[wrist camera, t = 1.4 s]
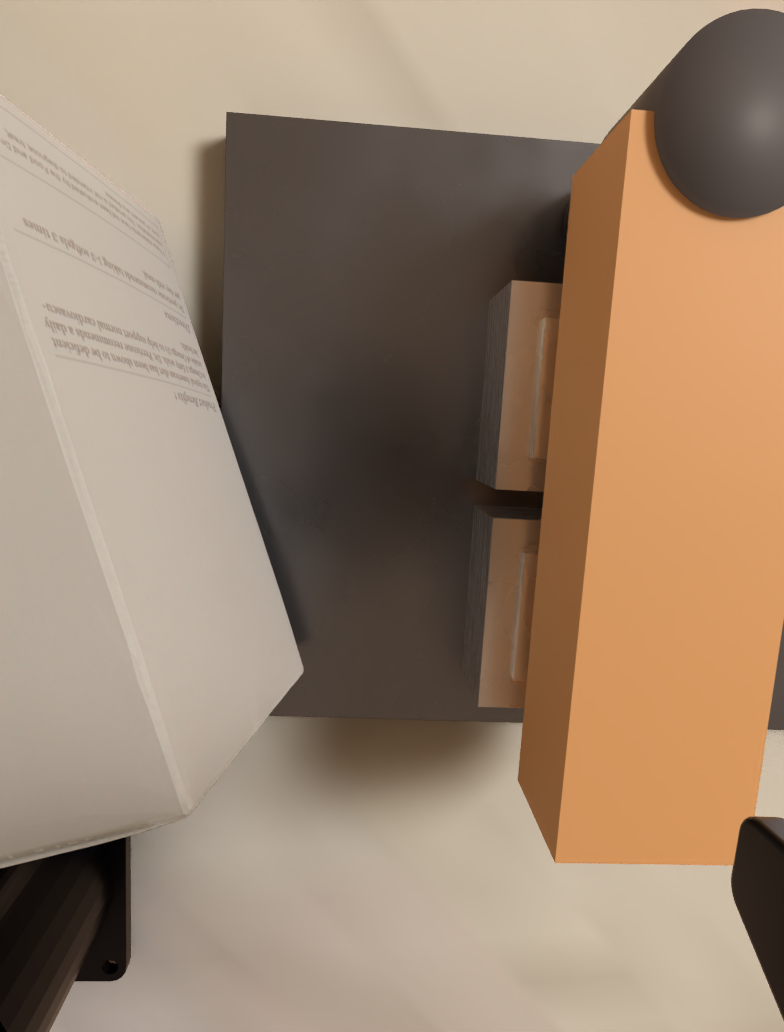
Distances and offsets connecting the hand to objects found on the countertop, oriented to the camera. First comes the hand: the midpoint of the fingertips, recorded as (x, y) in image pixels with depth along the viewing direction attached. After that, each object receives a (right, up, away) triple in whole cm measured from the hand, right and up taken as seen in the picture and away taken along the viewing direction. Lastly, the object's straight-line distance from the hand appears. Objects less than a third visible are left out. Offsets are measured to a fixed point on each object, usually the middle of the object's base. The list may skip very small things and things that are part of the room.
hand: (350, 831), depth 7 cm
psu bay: (+6, +6, +12) cm, 14 cm away
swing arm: (+6, +5, +7) cm, 11 cm away
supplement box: (-9, +10, +6) cm, 15 cm away
